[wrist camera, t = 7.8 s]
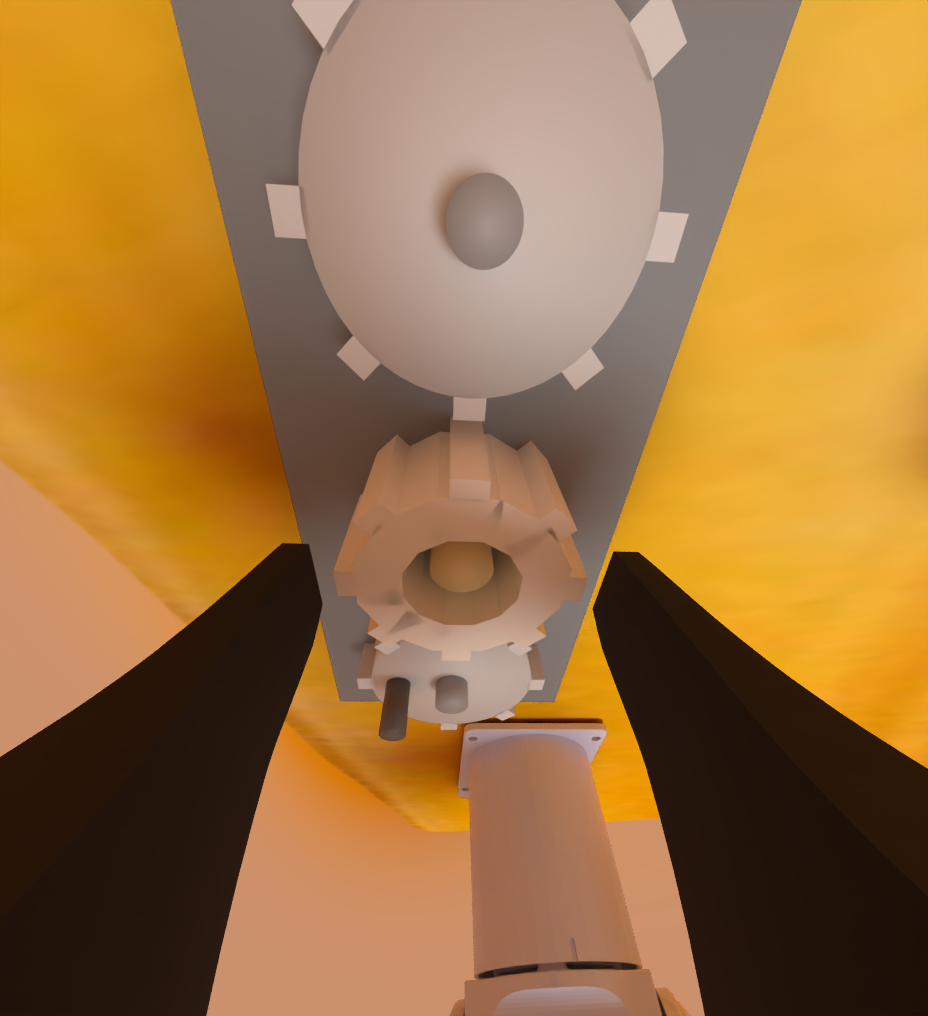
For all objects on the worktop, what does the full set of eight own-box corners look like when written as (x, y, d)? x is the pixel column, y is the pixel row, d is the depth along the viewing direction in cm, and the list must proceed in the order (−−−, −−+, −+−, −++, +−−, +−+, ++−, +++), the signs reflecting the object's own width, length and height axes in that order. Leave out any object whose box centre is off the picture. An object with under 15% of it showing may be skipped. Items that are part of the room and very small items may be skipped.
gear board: (548, 678, 19) (571, 782, 16) (346, 676, 19) (320, 784, 15) (775, -36, 7) (1164, -363, 3) (181, -99, 6) (-208, -582, 3)
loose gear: (538, 580, 14) (559, 662, 11) (369, 575, 13) (349, 659, 11) (577, 422, 10) (619, 485, 8) (351, 411, 10) (315, 473, 7)
